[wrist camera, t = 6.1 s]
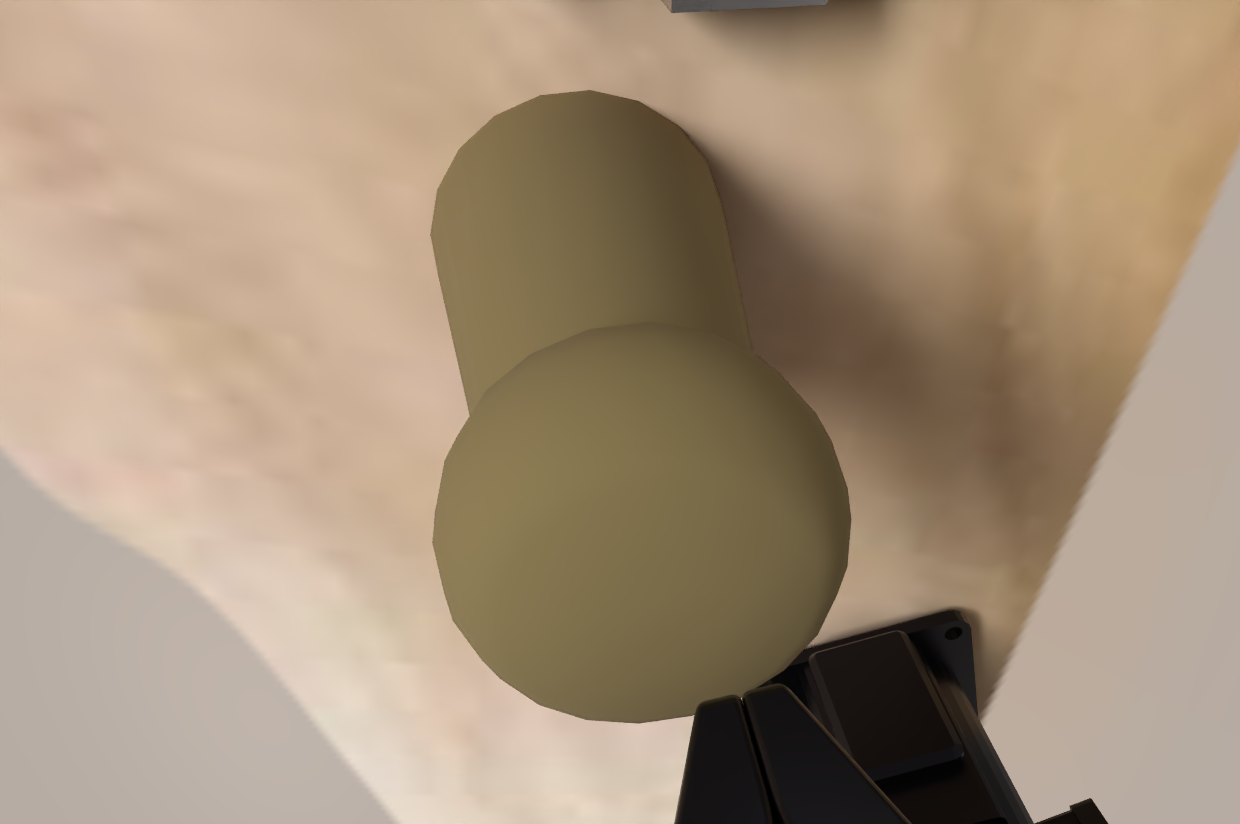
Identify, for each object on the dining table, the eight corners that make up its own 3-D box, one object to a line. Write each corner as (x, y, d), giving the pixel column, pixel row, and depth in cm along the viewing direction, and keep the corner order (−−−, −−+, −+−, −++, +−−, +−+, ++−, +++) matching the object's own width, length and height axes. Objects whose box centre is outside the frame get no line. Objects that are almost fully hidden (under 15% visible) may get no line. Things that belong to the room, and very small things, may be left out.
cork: (773, 155, 20) (1032, 487, 10) (652, 396, 22) (772, 824, 13) (487, 40, 18) (494, 321, 9) (394, 318, 20) (325, 754, 11)
